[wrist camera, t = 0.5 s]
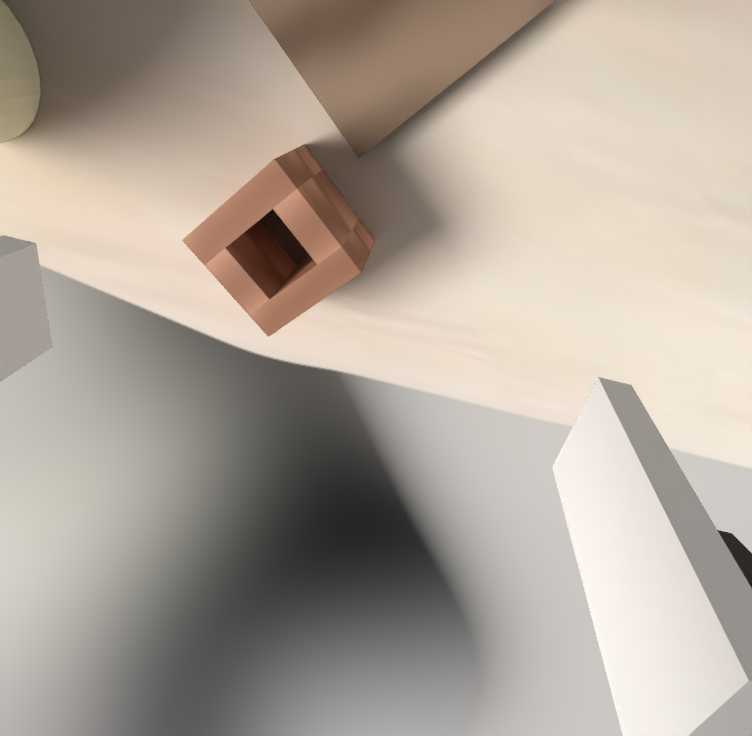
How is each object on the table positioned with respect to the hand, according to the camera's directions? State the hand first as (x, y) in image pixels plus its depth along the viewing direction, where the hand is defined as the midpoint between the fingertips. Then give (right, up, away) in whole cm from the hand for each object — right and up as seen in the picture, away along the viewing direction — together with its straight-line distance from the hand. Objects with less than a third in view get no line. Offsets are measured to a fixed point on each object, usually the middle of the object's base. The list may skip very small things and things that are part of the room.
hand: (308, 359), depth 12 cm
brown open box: (-3, +9, +20) cm, 22 cm away
